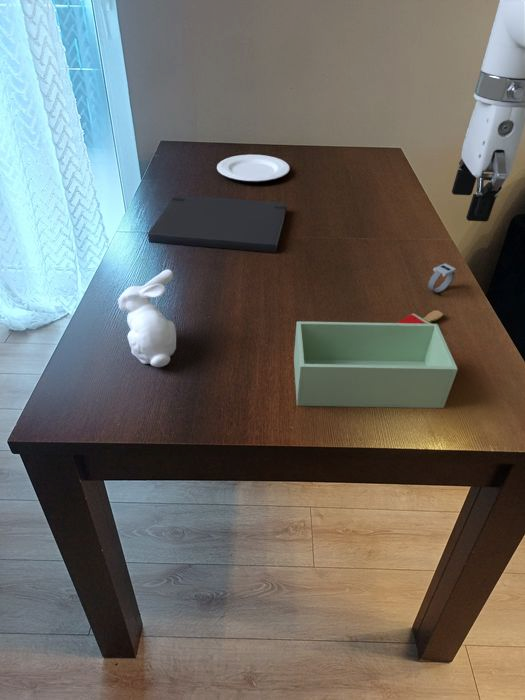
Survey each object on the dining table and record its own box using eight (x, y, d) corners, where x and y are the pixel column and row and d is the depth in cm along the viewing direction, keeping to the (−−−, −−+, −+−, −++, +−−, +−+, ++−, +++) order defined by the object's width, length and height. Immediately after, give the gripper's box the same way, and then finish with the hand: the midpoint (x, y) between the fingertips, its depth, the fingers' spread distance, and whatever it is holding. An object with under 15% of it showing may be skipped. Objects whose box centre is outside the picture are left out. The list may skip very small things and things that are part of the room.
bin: (425, 361, 79) (437, 323, 74) (443, 408, 71) (458, 369, 66) (293, 359, 79) (296, 321, 74) (296, 405, 71) (300, 366, 66)
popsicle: (451, 315, 86) (395, 348, 79) (449, 322, 87) (394, 355, 80) (430, 303, 89) (374, 334, 82) (428, 310, 90) (373, 341, 83)
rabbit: (121, 336, 83) (108, 274, 75) (174, 321, 86) (167, 260, 78) (141, 380, 74) (129, 316, 67) (200, 362, 78) (194, 299, 70)
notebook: (148, 242, 108) (275, 253, 105) (147, 233, 107) (276, 244, 104) (176, 202, 125) (286, 211, 122) (175, 194, 123) (287, 202, 120)
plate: (203, 169, 143) (202, 162, 142) (261, 156, 153) (261, 149, 151) (244, 192, 130) (244, 185, 129) (304, 176, 140) (304, 170, 139)
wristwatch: (433, 299, 93) (440, 276, 90) (422, 292, 95) (428, 269, 91) (454, 289, 96) (461, 266, 93) (442, 282, 97) (449, 260, 94)
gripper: (557, 106, 61) (509, 233, 72) (512, 75, 74) (478, 186, 85) (496, 103, 61) (457, 230, 72) (462, 73, 74) (434, 184, 85)
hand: (468, 206), depth 79 cm, fingers open, 9 cm apart
